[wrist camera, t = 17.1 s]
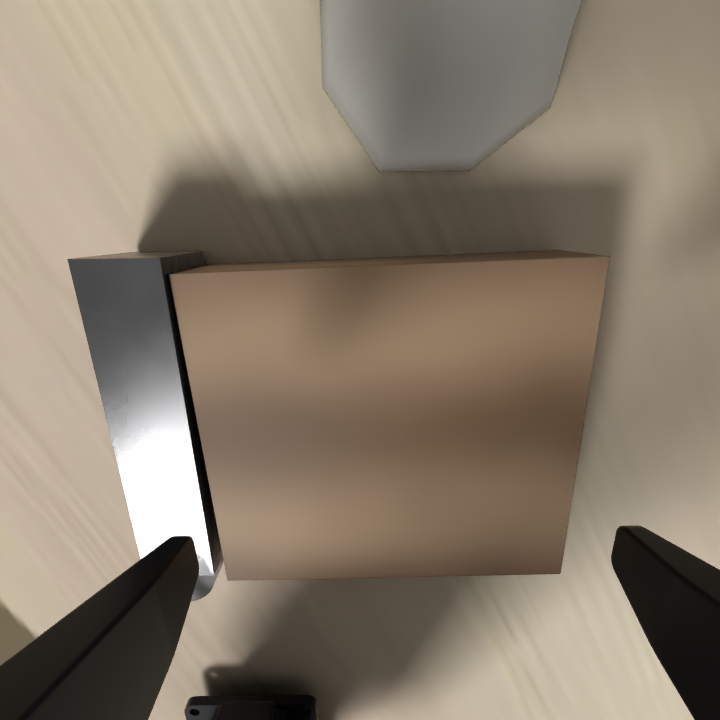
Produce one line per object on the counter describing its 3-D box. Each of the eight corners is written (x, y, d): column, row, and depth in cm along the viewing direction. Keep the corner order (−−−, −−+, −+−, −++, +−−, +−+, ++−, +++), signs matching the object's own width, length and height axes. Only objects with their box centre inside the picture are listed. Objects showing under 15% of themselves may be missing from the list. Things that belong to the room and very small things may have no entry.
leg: (242, 540, 17) (218, 601, 14) (186, 540, 17) (150, 601, 15) (203, 251, 13) (159, 257, 11) (130, 252, 13) (68, 259, 11)
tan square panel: (527, 515, 17) (560, 573, 14) (250, 522, 17) (227, 580, 14) (558, 250, 13) (609, 256, 11) (209, 264, 14) (168, 274, 11)
